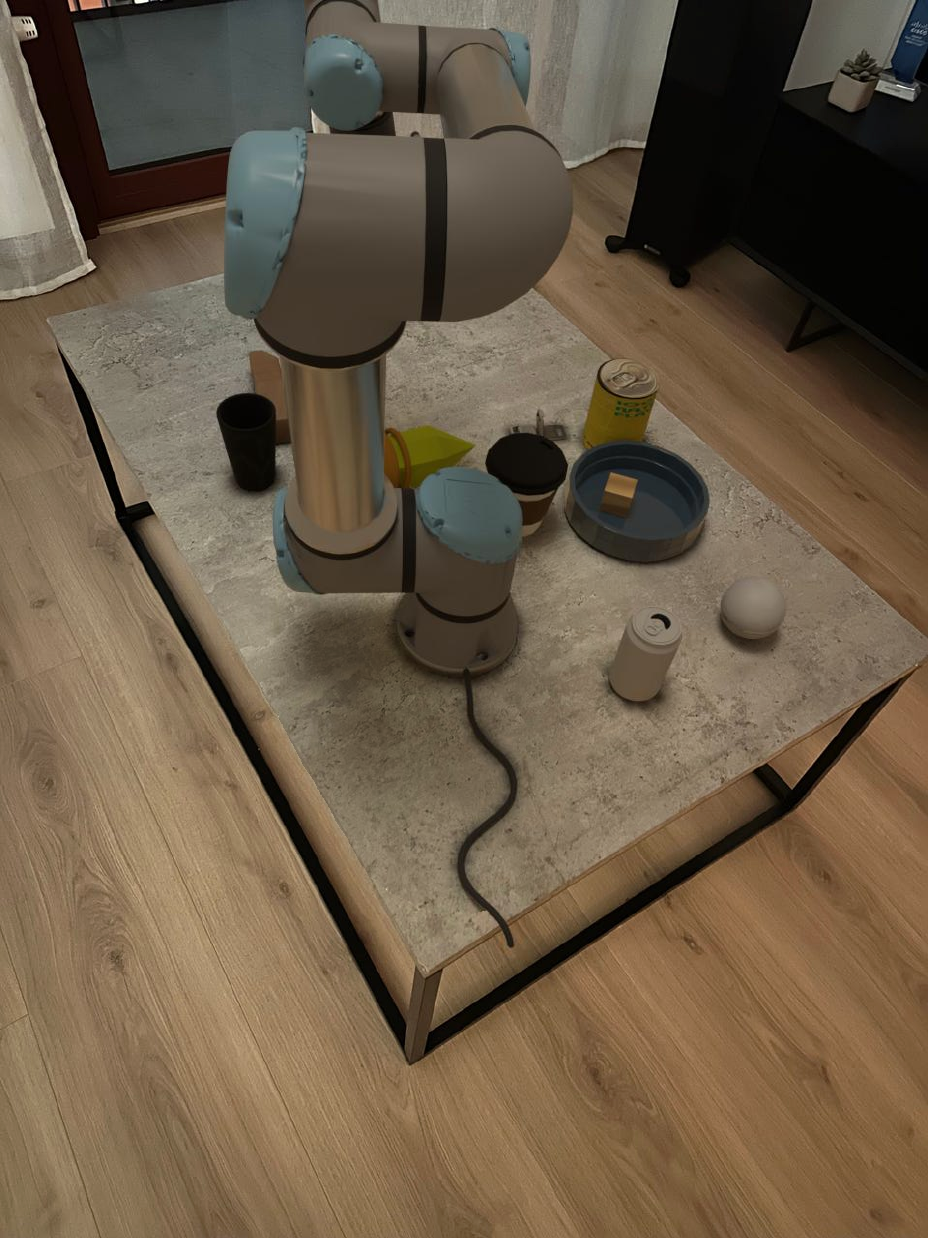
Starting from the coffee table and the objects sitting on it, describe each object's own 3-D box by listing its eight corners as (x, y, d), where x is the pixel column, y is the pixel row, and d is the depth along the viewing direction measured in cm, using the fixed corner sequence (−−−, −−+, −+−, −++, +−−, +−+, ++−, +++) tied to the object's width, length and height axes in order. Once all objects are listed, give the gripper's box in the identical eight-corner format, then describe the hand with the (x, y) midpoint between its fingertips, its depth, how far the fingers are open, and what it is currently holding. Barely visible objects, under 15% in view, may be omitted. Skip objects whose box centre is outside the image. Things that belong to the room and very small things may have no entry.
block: (626, 518, 127) (632, 498, 124) (598, 510, 128) (604, 490, 125) (631, 499, 130) (638, 479, 127) (604, 492, 130) (610, 471, 127)
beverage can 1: (651, 444, 139) (672, 380, 129) (615, 469, 134) (633, 406, 125) (607, 414, 142) (624, 350, 133) (570, 438, 138) (584, 374, 128)
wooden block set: (262, 420, 126) (245, 343, 137) (266, 450, 131) (249, 374, 141) (380, 406, 130) (355, 332, 141) (380, 436, 135) (356, 362, 145)
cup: (272, 502, 125) (264, 435, 115) (219, 491, 125) (207, 423, 116) (290, 465, 129) (283, 398, 120) (239, 455, 130) (228, 387, 120)
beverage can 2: (669, 683, 111) (696, 624, 102) (638, 714, 108) (664, 656, 99) (628, 653, 114) (651, 592, 104) (597, 682, 110) (618, 623, 101)
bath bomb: (700, 616, 118) (718, 577, 112) (744, 594, 121) (764, 555, 115) (741, 660, 114) (762, 622, 108) (785, 636, 117) (809, 598, 111)
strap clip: (512, 443, 136) (516, 421, 133) (508, 429, 138) (511, 407, 135) (566, 439, 138) (571, 418, 134) (561, 426, 139) (566, 404, 136)
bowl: (687, 580, 122) (698, 556, 118) (548, 540, 124) (554, 515, 120) (708, 486, 134) (718, 461, 130) (581, 452, 136) (587, 426, 132)
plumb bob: (454, 439, 136) (299, 468, 125) (472, 400, 129) (308, 427, 118) (479, 487, 133) (322, 521, 122) (499, 449, 126) (333, 482, 115)
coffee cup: (515, 483, 131) (526, 418, 121) (571, 524, 127) (586, 461, 117) (461, 518, 126) (468, 453, 116) (518, 562, 121) (530, 499, 112)
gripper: (457, 67, 105) (468, 228, 123) (246, 111, 103) (289, 268, 121) (473, 101, 101) (482, 262, 119) (254, 148, 99) (297, 304, 117)
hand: (385, 265), depth 120 cm, fingers open, 13 cm apart
